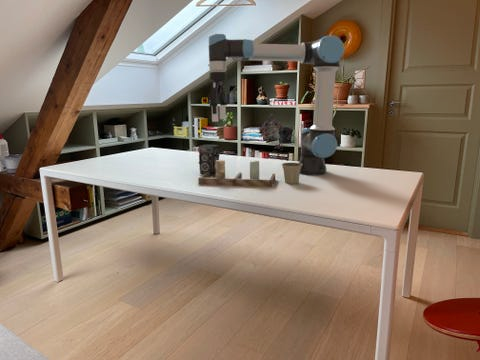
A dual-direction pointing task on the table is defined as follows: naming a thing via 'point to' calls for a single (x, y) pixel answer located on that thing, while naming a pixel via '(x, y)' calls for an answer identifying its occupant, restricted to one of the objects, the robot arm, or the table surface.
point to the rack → (235, 181)
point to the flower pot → (291, 172)
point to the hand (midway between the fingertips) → (219, 120)
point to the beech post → (220, 168)
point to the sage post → (254, 170)
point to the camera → (208, 158)
